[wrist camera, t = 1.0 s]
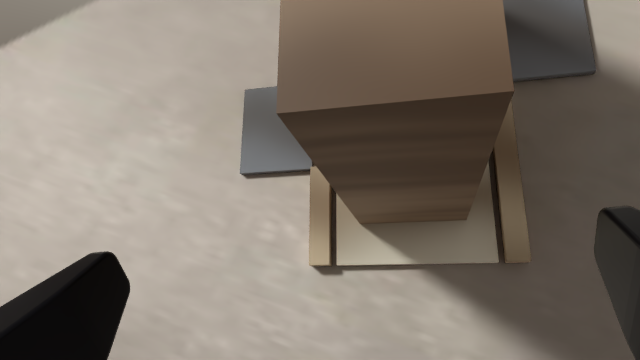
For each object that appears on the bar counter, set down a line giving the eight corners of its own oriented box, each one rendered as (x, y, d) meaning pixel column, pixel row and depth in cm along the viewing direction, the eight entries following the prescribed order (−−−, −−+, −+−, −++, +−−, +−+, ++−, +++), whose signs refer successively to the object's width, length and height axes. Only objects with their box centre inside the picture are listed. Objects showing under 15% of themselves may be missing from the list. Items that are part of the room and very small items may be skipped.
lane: (628, 260, 20) (662, 251, 17) (236, 267, 23) (210, 260, 21) (559, -115, 26) (575, -168, 23) (255, -59, 29) (237, -99, 27)
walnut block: (466, 220, 21) (514, 91, 9) (359, 224, 22) (276, 113, 10) (446, -14, 25) (461, -325, 13) (355, 0, 26) (290, -276, 14)
